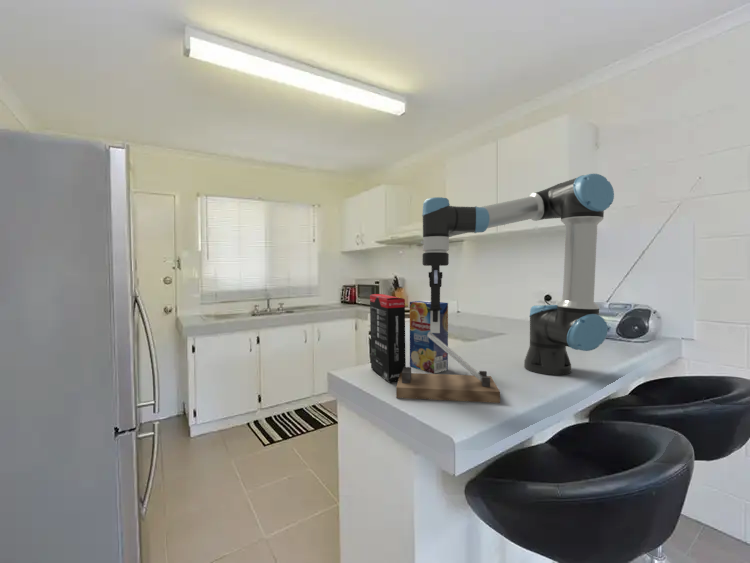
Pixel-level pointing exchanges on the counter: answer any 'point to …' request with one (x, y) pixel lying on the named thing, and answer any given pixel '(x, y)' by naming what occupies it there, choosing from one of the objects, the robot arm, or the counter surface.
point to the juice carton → (427, 338)
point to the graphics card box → (387, 335)
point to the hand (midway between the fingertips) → (435, 332)
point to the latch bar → (455, 356)
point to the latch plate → (447, 387)
